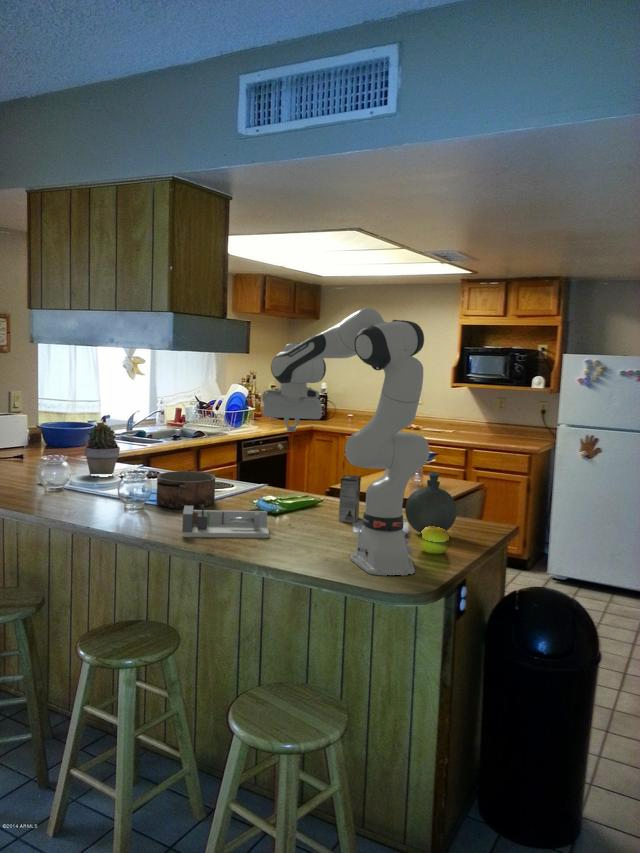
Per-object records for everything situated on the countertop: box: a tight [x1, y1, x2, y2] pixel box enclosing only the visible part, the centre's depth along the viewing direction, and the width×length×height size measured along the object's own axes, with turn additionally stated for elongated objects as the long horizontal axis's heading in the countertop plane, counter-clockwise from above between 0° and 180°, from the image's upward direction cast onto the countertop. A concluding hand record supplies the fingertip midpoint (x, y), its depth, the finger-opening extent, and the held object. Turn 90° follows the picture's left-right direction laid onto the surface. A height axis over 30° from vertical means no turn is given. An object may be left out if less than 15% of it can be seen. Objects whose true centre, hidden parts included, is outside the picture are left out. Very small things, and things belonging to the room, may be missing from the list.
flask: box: [404, 471, 458, 534], centre depth 242 cm, size 12×17×22 cm
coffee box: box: [338, 474, 362, 523], centre depth 258 cm, size 9×6×16 cm
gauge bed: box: [181, 506, 270, 539], centre depth 230 cm, size 12×28×8 cm, turn 99°
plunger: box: [230, 510, 260, 530], centre depth 231 cm, size 6×10×5 cm, turn 99°
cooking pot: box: [156, 470, 216, 510], centre depth 271 cm, size 30×22×11 cm
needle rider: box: [197, 505, 207, 529], centre depth 229 cm, size 5×3×7 cm, turn 9°
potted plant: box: [83, 422, 121, 475], centre depth 316 cm, size 18×20×25 cm
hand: (291, 431), depth 236 cm, fingers closed
